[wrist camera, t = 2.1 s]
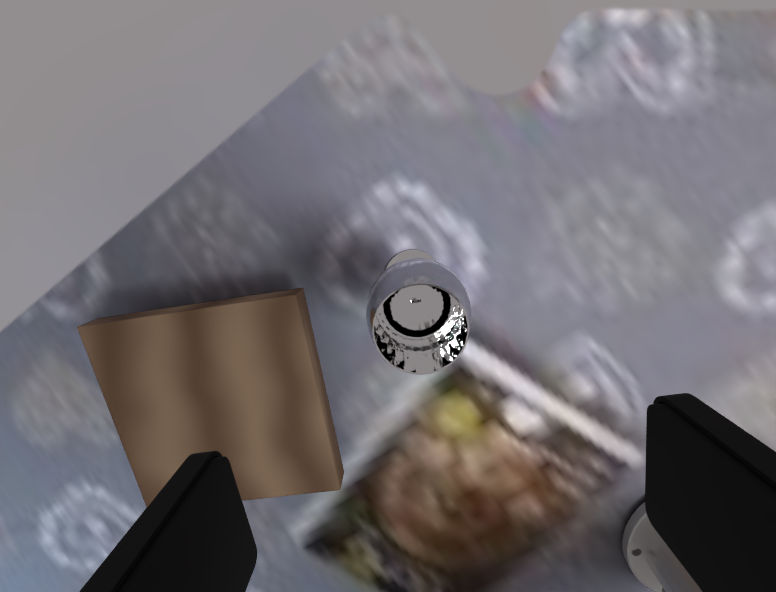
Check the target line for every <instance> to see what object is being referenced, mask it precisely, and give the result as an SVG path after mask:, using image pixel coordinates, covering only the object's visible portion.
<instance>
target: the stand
mask: <svg viewBox="0 0 776 592" xmlns="http://www.w3.org/2000/svg"><path fill="white" fill-rule="evenodd" d="M77 329H78V331H79V334H80V336H81V339H82V341H83V344H84V347H85V349H86V352H87V354H88V357H89V359H90V362H91V365H92V367H93V370H94V372H95V375H96V378H97V380H98V383H99V385H100V388H101V390H102V393H103V396H104V398H105V401H106V403H107V406H108V408H109V411H110V414H111V416H112V419H113V421H114V424H115V427H116V429H117V432H118V434H119V437H120V439H121V442H122V445H123V447H124V450H125V452H126V455H127V457H128V460H129V463H130V465H131V468H132V470H133V473H134V475H135V478H136V481H137V483H138V486H139V488H140V491H141V494H142V496H143V499H144V501H145V504H146V506H147V507H148V506H149V504H150V503H151V502H152V501H153V499H154V498H155V497H156V496H157V495H158V493H159V492H160V491H161V490H162V488H163V487H164V486H165V485H166V483H167V482H168V481H169V480H170V478H171V477H172V476H173V475H174V473H175V472H176V471H177V470H178V468H179V467H180V466H181V465H182V463H183V462H184V461H185V460H186V458H187V457H188V456H189V455H191V454H194V453H201V452H210V451H219V452H220V453H221V454H222V457H223V456H225V457H227V458H228V459H229V462H230V465H231V468H232V471H233V474H234V477H235V480H236V484H237V487H238V490H239V493H240V496H241V500H251V499H261V498H270V497H279V496H288V495H298V494H307V493H316V492H325V491H334V490H340V489H341V484H342V479H343V474H344V470H343V465H342V461H341V456H340V452H339V447H338V443H337V438H336V434H335V429H334V425H333V420H332V416H331V411H330V407H329V402H328V397H327V393H326V388H325V384H324V379H323V375H322V370H321V366H320V361H319V357H318V352H317V348H316V343H315V339H314V334H313V330H312V325H311V321H310V316H309V312H308V307H307V303H306V298H305V294H304V289H303V288H298V289H291V290H285V291H278V292H271V293H264V294H258V295H251V296H244V297H238V298H231V299H224V300H217V301H211V302H204V303H197V304H191V305H184V306H177V307H170V308H164V309H157V310H150V311H144V312H137V313H130V314H124V315H117V316H110V317H103V318H98V319H96V320H93V321H91V322H88V323H86V324H83V325H81V326H78V327H77Z"/></svg>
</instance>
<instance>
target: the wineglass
mask: <svg viewBox="0 0 776 592" xmlns="http://www.w3.org/2000/svg"><path fill="white" fill-rule="evenodd" d="M366 319H367V325H368V330H369V333H370V335H371V338H372V341H373V343H374V345H375V346H376V348H377V350H378V352H379V353H380V354H381V356H382V357H383V358H384V360H385V361H386V362H388V363H389V364H390V365H391V366H393V367H395V368H396V369H398V370H400V371H403V372H406V373H410V374H419V375H422V374H431V373H434V372H438V371H440V370H442V369H444V368H446V367H448V366H449V365H451V364H452V363H453V362H454V361H455V360H456V359H457V358H458V357H459V356H460V354H461V353H462V352H463V350H464V348H465V346H466V343H467V341H468V338H469V334H470V328H471V307H470V301H469V298H468V295H467V292H466V289H465V287H464V286H463V284H462V282H461V281H460V279H459V278H458V277H457V276H456V275H455V274H454V273H453V272H452V271H451V270H450V269H449V268H447V267H446V266H444V265H443V264H441V263H438V262H437V261H436V260H435V259H434V258H433V257H432V256H431V255H430V254H428V253H426V252H424V251H421V250H406V251H402V252H400V253H398V254H397V255H396V256H394V257H393V258H392V259H391V260H390V262H389V263H388V265H387V267H386V270H385V271H383V272H382V273H381V274H380V275H379V277H378V278H377V279H376V280H375V282H374V284H373V285H372V287H371V290H370V292H369V295H368V299H367V305H366Z"/></svg>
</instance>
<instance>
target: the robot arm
mask: <svg viewBox="0 0 776 592" xmlns="http://www.w3.org/2000/svg"><path fill="white" fill-rule="evenodd" d="M622 549H623V554H624V558H625V560H626V562H627V564H628V566H629V567H630V569H631V570H632V572H633V574H634V575H635V577H636V578H637V579H638V580H639V581H640V582H641V583H642V584H643V585H644V586H646V587H648V588H649V589H651V590H652V591H654V592H776V452H775V451H774V450H772V449H771V448H769V447H768V446H766V445H765V444H763V443H762V442H760V441H759V440H757V439H756V438H755V437H753V436H752V435H750V434H749V433H747V432H746V431H744V430H743V429H741V428H740V427H738V426H737V425H736V424H734V423H733V422H731V421H730V420H728V419H727V418H725V417H724V416H722V415H721V414H719V413H718V412H717V411H715V410H714V409H712V408H711V407H709V406H708V405H706V404H705V403H703V402H702V401H701V400H699V399H698V398H696V397H695V396H693V395H691V394H688V393H683V394H674V395H666V396H659V397H657V398H656V399H655V400H654V404H652V405H649V406H648V408H647V434H646V484H645V502H644V503H643V504H641V505H640V506H639V507H638V509H637V510H636V511H635V512H634V513H633V515H632V516H631V518H630V519H629V521H628V523H627V525H626V527H625V530H624V534H623V539H622ZM256 559H257V548H256V544H255V541H254V538H253V534H252V531H251V528H250V525H249V522H248V519H247V515H246V512H245V509H244V506H243V503H242V500H241V496H240V493H239V490H238V487H237V484H236V480H235V477H234V474H233V471H232V468H231V465H230V462H229V459H228V458H227V457H225V456H223V457H222V454H221V453H220V452H219V451H210V452H201V453H194V454H191V455H189V456H188V457H187V458H186V460H185V461H184V462H183V463H182V465H181V466H180V467H179V468H178V470H177V471H176V472H175V473H174V475H173V476H172V477H171V478H170V480H169V481H168V482H167V483H166V485H165V486H164V487H163V488H162V490H161V491H160V492H159V493H158V495H157V496H156V497H155V498H154V499H153V501H152V502H151V503H150V504H149V506H148V507H147V508H146V509H145V511H144V512H143V513H142V514H141V516H140V517H139V518H138V519H137V521H136V522H135V523H134V524H133V526H132V527H131V528H130V529H129V531H128V532H127V533H126V534H125V536H124V537H123V538H122V539H121V541H120V542H119V543H118V544H117V546H116V547H115V548H114V549H113V551H112V552H111V553H110V554H109V556H108V557H107V558H106V559H105V561H104V562H103V563H102V564H101V565H100V567H99V568H98V569H97V570H96V572H95V573H94V574H93V575H92V577H91V578H90V579H89V580H88V582H87V583H86V584H85V585H84V587H83V588H82V589H81V590H80V592H245V591H246V588H247V586H248V583H249V581H250V578H251V575H252V573H253V570H254V568H255V564H256Z"/></svg>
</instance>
